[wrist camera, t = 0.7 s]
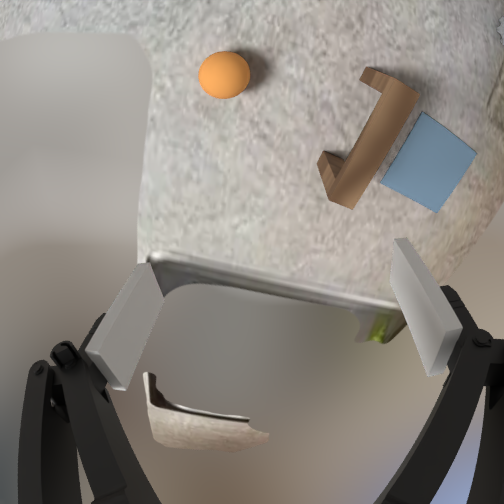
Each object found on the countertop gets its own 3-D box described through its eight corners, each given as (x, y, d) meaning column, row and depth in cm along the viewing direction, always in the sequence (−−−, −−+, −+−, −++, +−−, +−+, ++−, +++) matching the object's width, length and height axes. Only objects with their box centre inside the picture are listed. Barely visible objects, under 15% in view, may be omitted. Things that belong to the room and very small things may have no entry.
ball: (212, 44, 28) (202, 46, 24) (258, 58, 29) (256, 62, 25) (198, 86, 31) (186, 95, 27) (242, 99, 32) (238, 110, 28)
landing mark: (422, 111, 31) (422, 111, 31) (476, 153, 33) (477, 153, 33) (380, 182, 38) (380, 183, 38) (436, 212, 41) (436, 213, 41)
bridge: (316, 163, 37) (328, 200, 30) (366, 66, 28) (395, 78, 21) (336, 171, 38) (352, 209, 31) (386, 78, 29) (420, 94, 22)
